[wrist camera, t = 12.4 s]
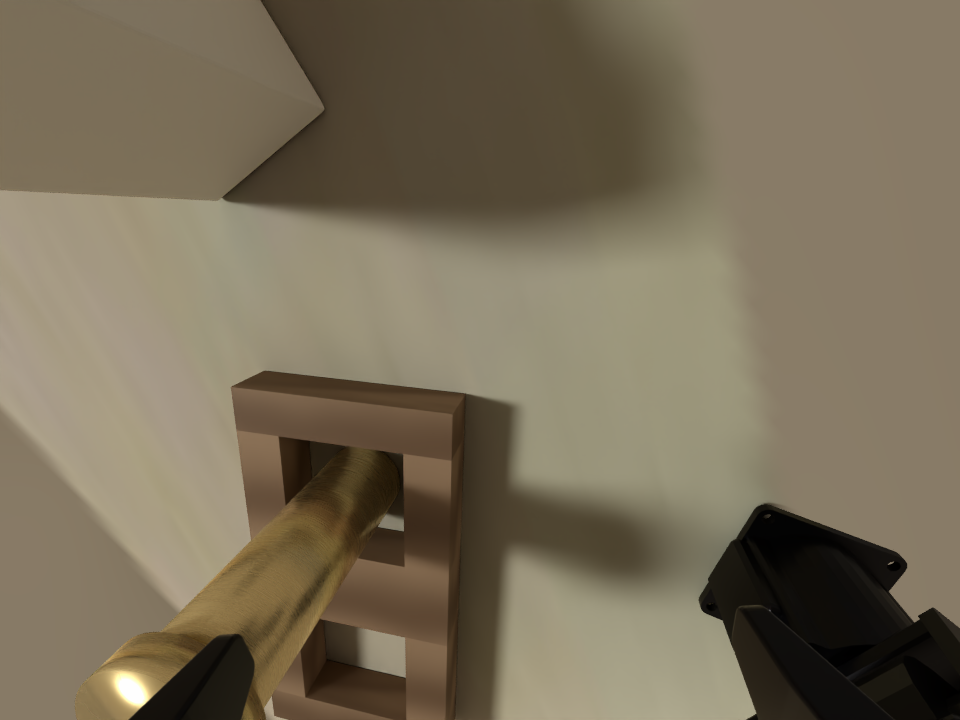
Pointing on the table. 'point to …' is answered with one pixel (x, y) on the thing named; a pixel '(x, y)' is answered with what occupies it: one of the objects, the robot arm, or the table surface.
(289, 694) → the template plate
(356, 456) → the brass bolt
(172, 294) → the table surface
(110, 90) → the milk carton
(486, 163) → the table surface
